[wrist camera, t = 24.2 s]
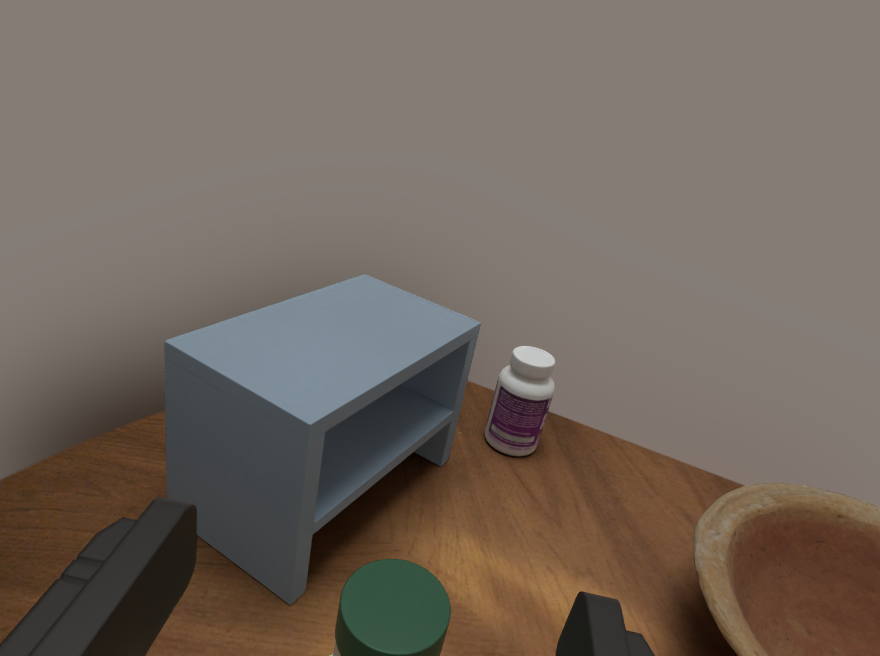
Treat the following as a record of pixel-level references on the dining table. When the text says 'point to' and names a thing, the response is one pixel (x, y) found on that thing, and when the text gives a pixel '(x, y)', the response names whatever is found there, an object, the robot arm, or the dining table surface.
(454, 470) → the dining table surface
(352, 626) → the spice bottle
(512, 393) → the pill bottle
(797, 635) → the bowl
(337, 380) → the shelf
